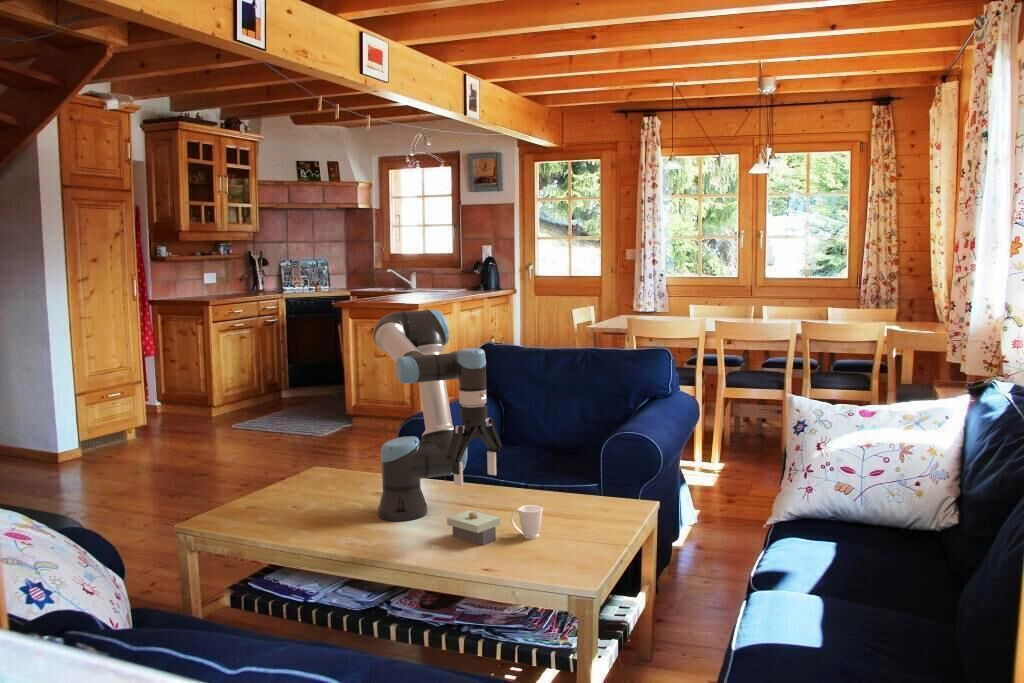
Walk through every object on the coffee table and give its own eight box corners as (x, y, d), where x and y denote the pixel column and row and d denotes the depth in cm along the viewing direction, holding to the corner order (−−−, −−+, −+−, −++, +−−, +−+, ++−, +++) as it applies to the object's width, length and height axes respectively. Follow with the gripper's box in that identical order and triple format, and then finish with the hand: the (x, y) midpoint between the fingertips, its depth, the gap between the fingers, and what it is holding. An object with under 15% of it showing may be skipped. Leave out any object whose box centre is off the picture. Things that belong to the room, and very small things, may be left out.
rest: (452, 536, 246) (452, 522, 246) (465, 532, 250) (465, 518, 249) (483, 545, 238) (482, 531, 238) (495, 540, 242) (495, 526, 241)
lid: (447, 524, 244) (446, 513, 244) (469, 516, 251) (469, 506, 251) (477, 533, 236) (477, 521, 236) (500, 524, 243) (499, 513, 243)
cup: (534, 542, 240) (534, 513, 239) (505, 536, 245) (504, 508, 245) (548, 534, 245) (547, 506, 245) (519, 529, 251) (518, 501, 250)
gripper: (451, 413, 228) (453, 492, 231) (513, 399, 247) (515, 472, 250) (431, 410, 233) (434, 487, 236) (493, 396, 252) (495, 468, 254)
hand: (475, 479), depth 243 cm, fingers open, 13 cm apart
